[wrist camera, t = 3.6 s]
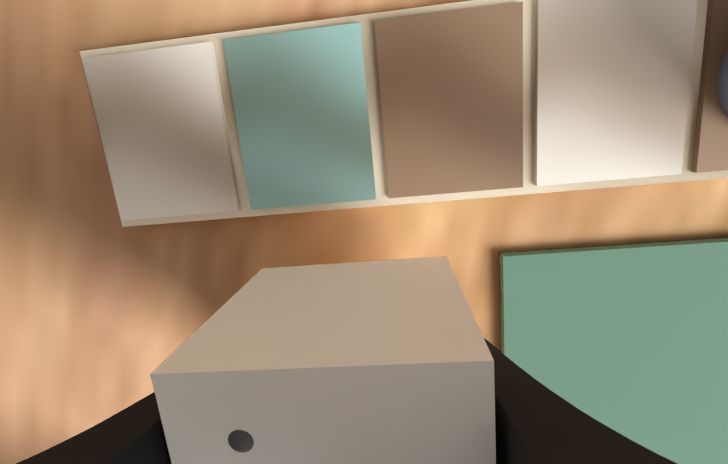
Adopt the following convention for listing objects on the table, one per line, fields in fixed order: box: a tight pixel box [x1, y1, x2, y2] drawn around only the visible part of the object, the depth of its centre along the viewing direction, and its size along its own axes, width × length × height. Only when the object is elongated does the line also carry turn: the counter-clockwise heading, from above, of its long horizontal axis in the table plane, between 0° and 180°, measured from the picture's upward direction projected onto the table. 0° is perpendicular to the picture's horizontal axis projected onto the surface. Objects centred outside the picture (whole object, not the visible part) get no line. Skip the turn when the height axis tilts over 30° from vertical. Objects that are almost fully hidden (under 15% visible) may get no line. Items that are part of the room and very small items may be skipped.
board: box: [80, 0, 728, 227], centre depth 11 cm, size 6×22×1 cm, turn 96°
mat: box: [500, 238, 728, 464], centre depth 13 cm, size 9×9×1 cm
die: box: [150, 256, 496, 464], centre depth 8 cm, size 5×5×5 cm
